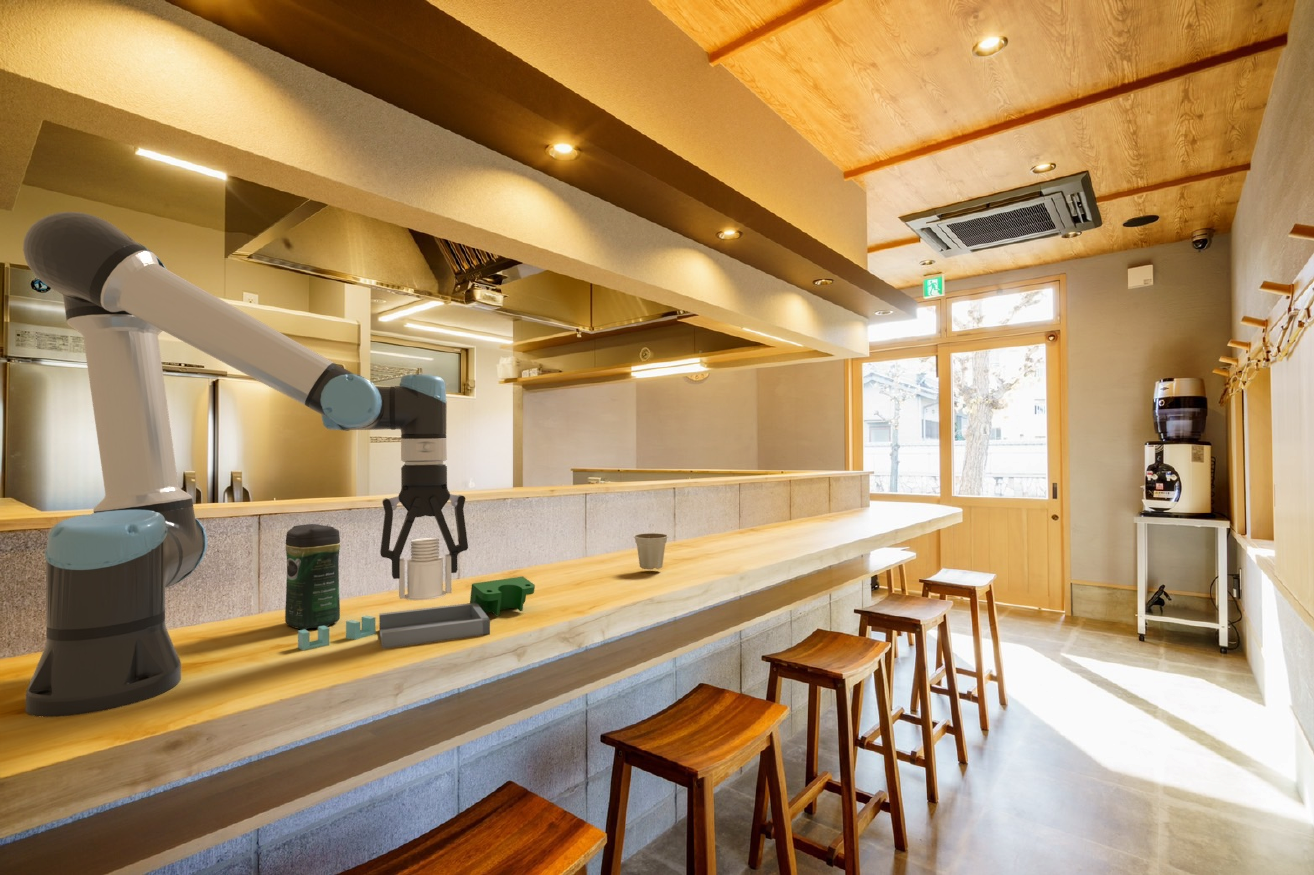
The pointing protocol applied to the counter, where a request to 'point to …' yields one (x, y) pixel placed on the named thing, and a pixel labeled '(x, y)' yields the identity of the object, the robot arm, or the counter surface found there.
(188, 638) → the counter surface
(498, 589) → the clamp
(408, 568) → the white stepped cylinder
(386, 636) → the end holder
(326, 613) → the coffee jar
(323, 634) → the clips
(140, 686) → the robot arm
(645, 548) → the flower pot
